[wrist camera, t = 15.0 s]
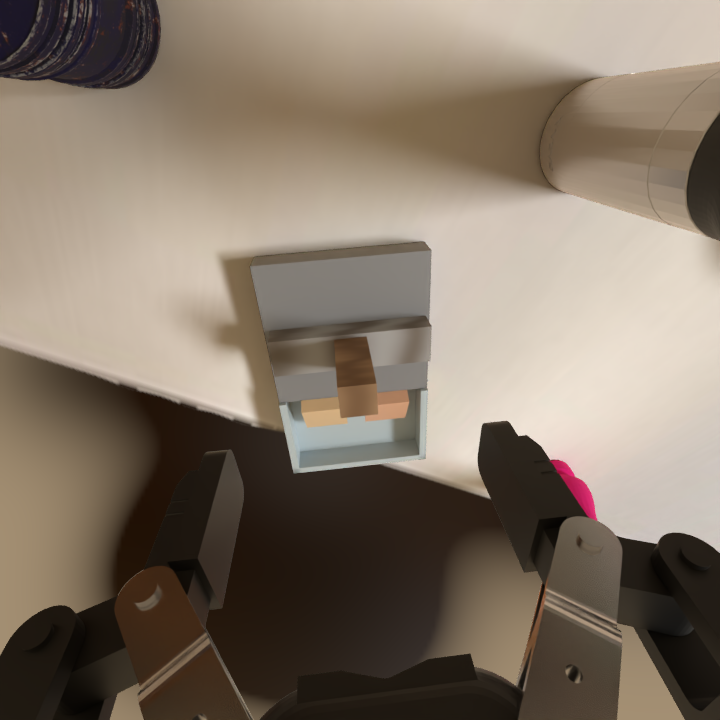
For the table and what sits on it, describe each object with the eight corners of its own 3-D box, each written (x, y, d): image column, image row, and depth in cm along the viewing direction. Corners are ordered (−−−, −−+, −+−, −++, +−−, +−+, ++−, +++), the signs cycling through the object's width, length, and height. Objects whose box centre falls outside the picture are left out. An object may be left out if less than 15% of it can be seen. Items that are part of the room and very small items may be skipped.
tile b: (344, 396, 45) (345, 408, 44) (346, 412, 50) (347, 423, 49) (300, 400, 45) (301, 412, 44) (306, 416, 49) (307, 427, 49)
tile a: (407, 389, 45) (409, 401, 45) (403, 406, 50) (405, 417, 49) (364, 394, 45) (365, 406, 45) (364, 410, 50) (365, 421, 49)
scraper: (425, 315, 41) (455, 371, 32) (424, 348, 43) (452, 410, 34) (270, 330, 40) (255, 391, 31) (277, 363, 42) (265, 430, 33)
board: (424, 241, 40) (431, 250, 37) (421, 373, 48) (426, 387, 46) (254, 256, 39) (249, 266, 36) (281, 387, 47) (279, 402, 45)
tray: (421, 373, 48) (427, 390, 45) (419, 440, 54) (425, 458, 51) (281, 387, 47) (279, 405, 44) (295, 453, 53) (293, 473, 50)
